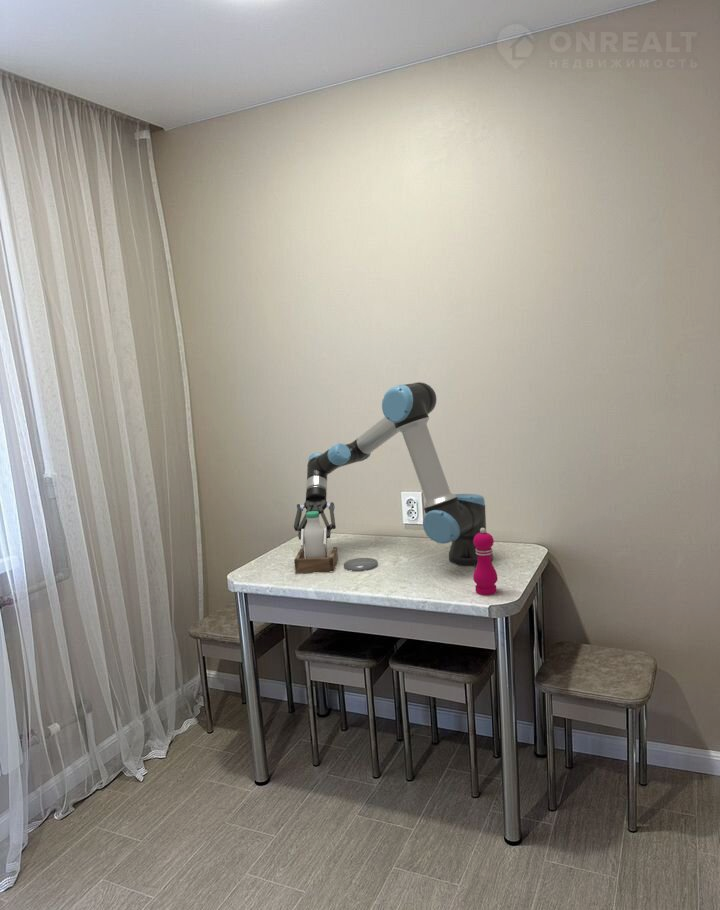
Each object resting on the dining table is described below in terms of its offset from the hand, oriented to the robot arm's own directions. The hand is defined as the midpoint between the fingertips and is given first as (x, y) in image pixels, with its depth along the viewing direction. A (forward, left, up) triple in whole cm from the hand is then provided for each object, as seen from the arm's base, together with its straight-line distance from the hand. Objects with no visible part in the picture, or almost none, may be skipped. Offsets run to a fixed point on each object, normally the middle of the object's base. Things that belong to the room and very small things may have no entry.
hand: (313, 546), depth 246 cm
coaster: (-6, -15, -9) cm, 18 cm away
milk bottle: (+3, -2, -9) cm, 9 cm away
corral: (+3, -2, -9) cm, 9 cm away
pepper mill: (-53, -35, -9) cm, 64 cm away
